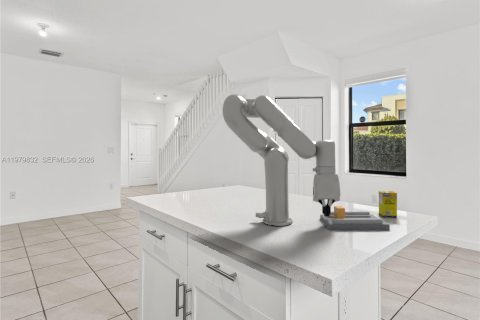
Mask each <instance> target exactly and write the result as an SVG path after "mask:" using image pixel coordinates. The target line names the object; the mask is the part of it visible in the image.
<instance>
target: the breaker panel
mask: <svg viewBox="0 0 480 320" xmlns="http://www.w3.org/2000/svg"><path fill="white" fill-rule="evenodd" d="M358 218H378V216H375V215H374V214H373V213H372V214H370V215H345V219H358ZM319 219H320V221H321V222H322V223H323V224H324V225H325V226H326V227H327V228H328V230H330V231H353V230H354V231H359V230H360V231H363V230H364V231H379V230H381V231H383V230H384V231H386V230H388V231H390V225H391V224H390V223H388V222H386V221H384V220H383V224H334V223H333V219H335V218H334V216H325V215H324V214H320V215H319Z"/></svg>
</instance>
